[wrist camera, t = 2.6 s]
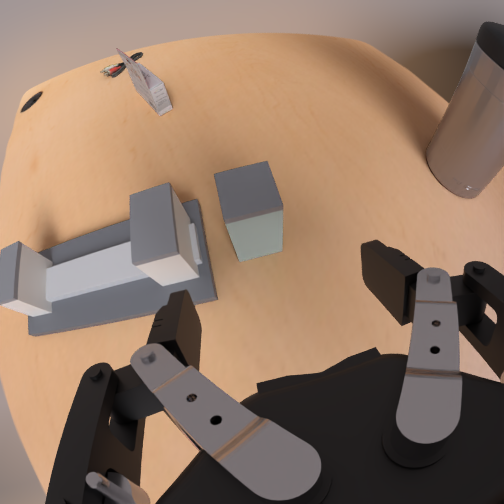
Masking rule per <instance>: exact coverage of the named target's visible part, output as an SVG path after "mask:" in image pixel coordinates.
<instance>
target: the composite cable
mask: <svg viewBox="0 0 504 504" xmlns="http://www.w3.org/2000/svg"><path fill="white" fill-rule="evenodd" d="M142 55H143V53H142V52H139V53H136V54H134V55H132V56H131V57H130V58H131V59H132V60H134V61H136V60H137V59H139V58H140V57H142ZM137 56H138V57H137ZM134 58H135V59H134ZM128 62H129V61H128ZM129 63H130V62H129ZM130 64H131V63H130ZM125 68H126V65H125V64H124V62H123V63H119V64H115V65H110V66H107V67H105V68H104V70H103V71H101V72H100V73H103V72H107V73H105V74H104V75H107V77H108V76H109V75H111V76H112V77H113V78H114V77H116V76H117V75H118V74H120V73H121V72H122V71H123V70H124V69H125Z"/></svg>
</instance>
